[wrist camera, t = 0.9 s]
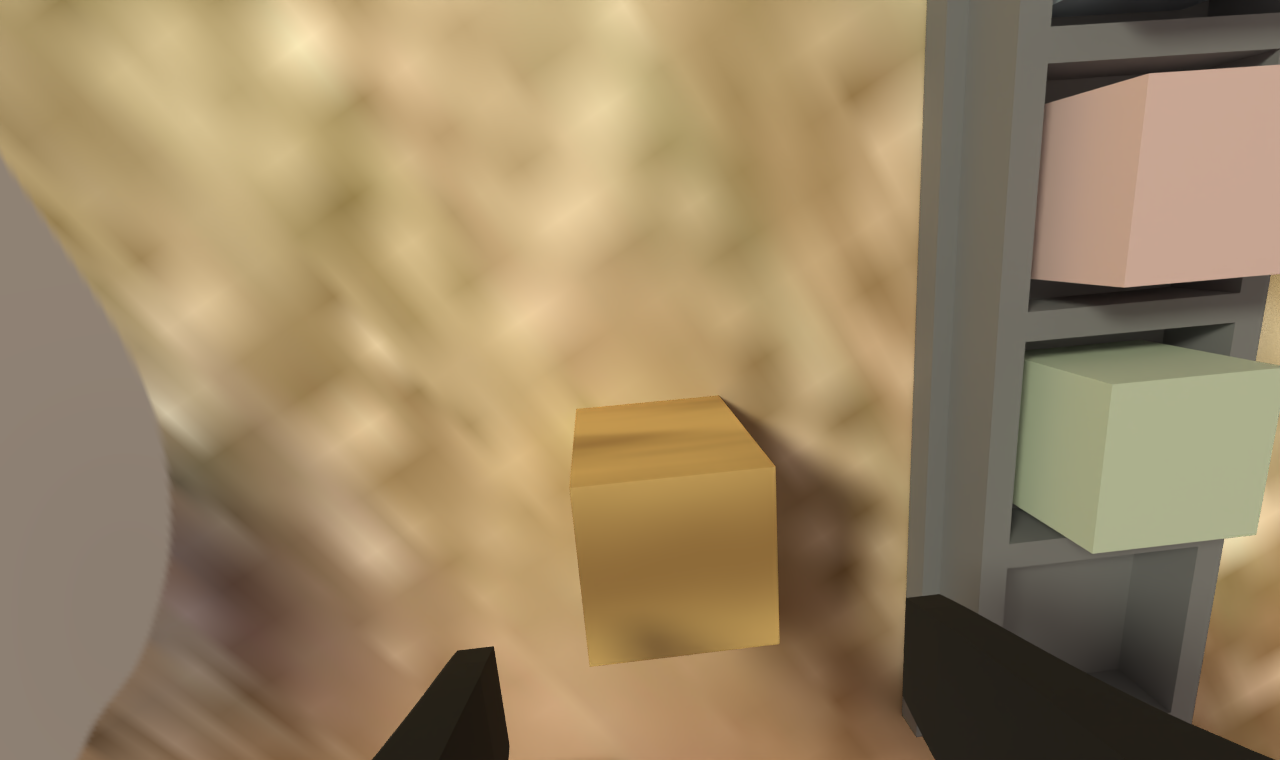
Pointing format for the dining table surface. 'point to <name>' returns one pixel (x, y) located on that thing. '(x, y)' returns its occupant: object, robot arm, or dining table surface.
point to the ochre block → (673, 531)
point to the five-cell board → (1094, 322)
